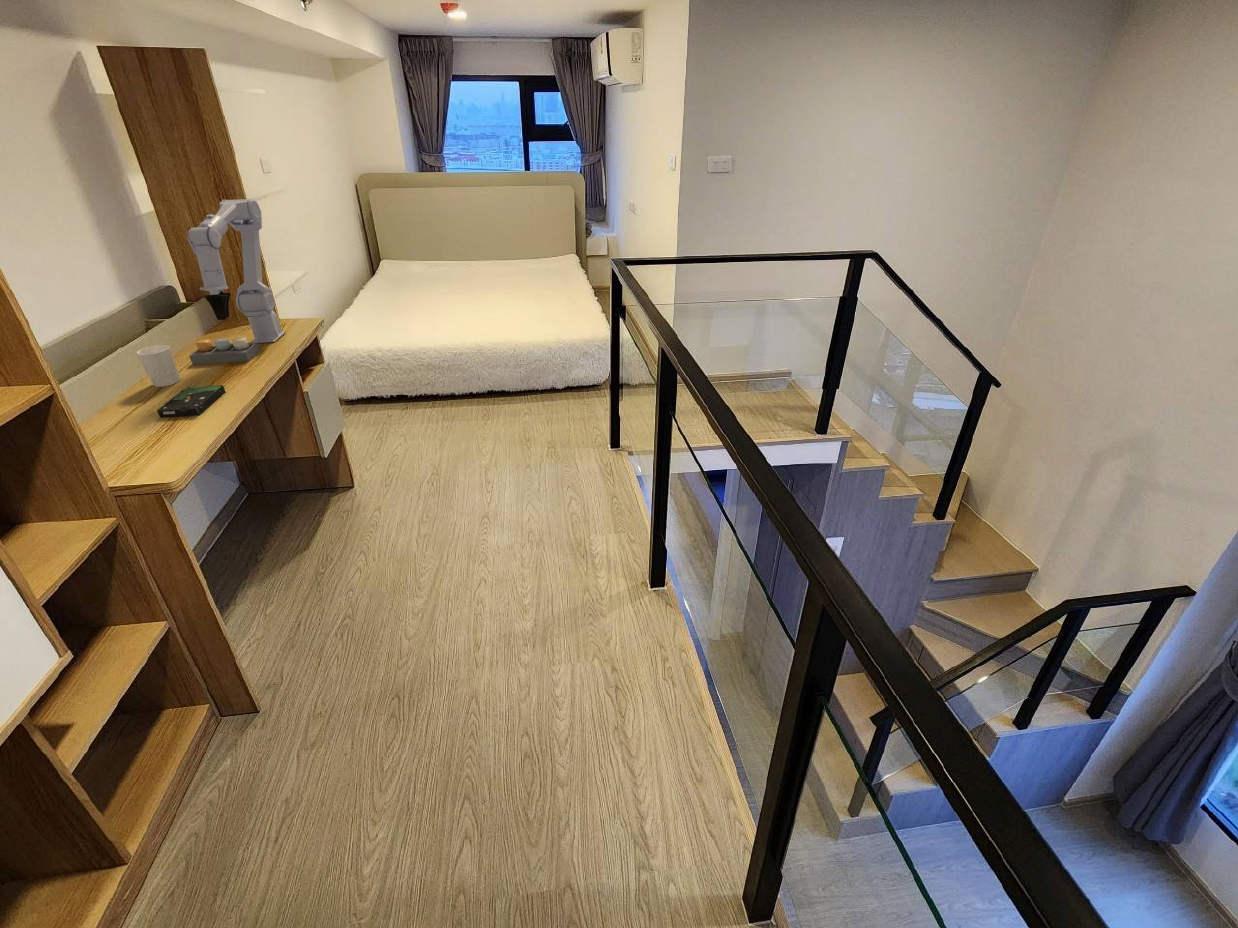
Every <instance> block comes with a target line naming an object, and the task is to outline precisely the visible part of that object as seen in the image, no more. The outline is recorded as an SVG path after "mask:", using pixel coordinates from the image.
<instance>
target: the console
mask: <svg viewBox="0 0 1238 928" xmlns="http://www.w3.org/2000/svg"><path fill="white" fill-rule="evenodd" d="M248 344H249V347H248V348H246V349H243V350H236V349H235V347H234V345H233V343H230V345H231V348H230V349H228V350H225V351H217V349H216V346H215V343H213V344H212V346H213V349H212V350H210V351H206V352H199V350H198V348H197V349H196V350H195V351H193V352H191V353H190V354H189V355H188V356H189V359H190V361H191V363H192V365H194V366H195V365H208V364H209V365H211V363H212V364H227V363H230V362H231V363H247V362H250V361H251V360H252V359H254V358H255V357H256V356H257V355H259V354H260V353H261V351H262V350H261V347H260V343H258V342H251V341H250V342H248ZM231 363H230V364H231Z"/></svg>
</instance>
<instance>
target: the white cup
mask: <svg viewBox="0 0 1238 928" xmlns="http://www.w3.org/2000/svg"><path fill="white" fill-rule="evenodd" d="M136 355H137V357H138V359H139V361H140V363H141V365H142V367H143V369H144V371H145V372H146V374H147V377H149V378H150V382H151V383H152V385H153V386H154V387H157V388H163V387H168V386H171V385H174V384H177V383H179V382H180V381H181V377H180V374H179V372H178V366H177V364H176V361H175V358H174V355H173V353H172V350H171V347H170V346H169V345H167V344H156V345H150V346H146V347H143V348H140V349H138V350H137V351H136Z"/></svg>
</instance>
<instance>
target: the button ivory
mask: <svg viewBox="0 0 1238 928" xmlns="http://www.w3.org/2000/svg"><path fill="white" fill-rule="evenodd" d="M248 343H249V342H248V338H247V337H245V336H244V337H237V338H234V339H232V344H233V345H234V347H235V349H236V350H243V349H246V348H248V347H249V344H248Z"/></svg>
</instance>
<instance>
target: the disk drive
mask: <svg viewBox="0 0 1238 928" xmlns="http://www.w3.org/2000/svg"><path fill="white" fill-rule="evenodd" d="M226 392H227V391H226V389H225V386H224V385H223V384H219V385H204V386H195V387H191V386H188V387H186V388H184V389H181V391H179V393H177V394H176V395H175V396H173V397H172V398H171V399H169V400H168V401H167V402H166V403H164V404H163V405H162V406H160V407H159V408H158V409H157V410H156V412H157V414H158V416H159V418H160V419H161V418H162V419H163V418H183V417H185V418H186V417H199V416H201V415H202V414H203V413H204V412H206V410H208V409H209V408H210V407H211V406H213V405H214V403H216V402H217V401H218V400H219V399H220V398H222V395H223V396H224V395H225V394H226Z"/></svg>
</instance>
